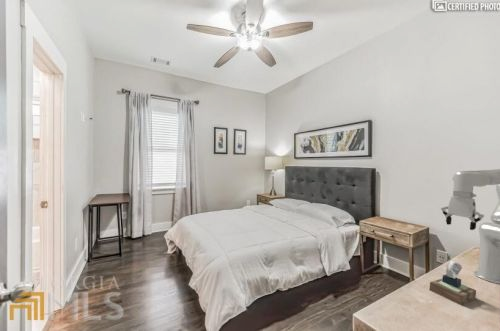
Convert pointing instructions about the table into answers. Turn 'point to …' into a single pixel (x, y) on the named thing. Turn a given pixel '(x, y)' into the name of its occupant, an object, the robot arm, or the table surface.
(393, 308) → the table surface
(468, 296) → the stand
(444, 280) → the watch
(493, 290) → the table surface
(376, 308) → the table surface
